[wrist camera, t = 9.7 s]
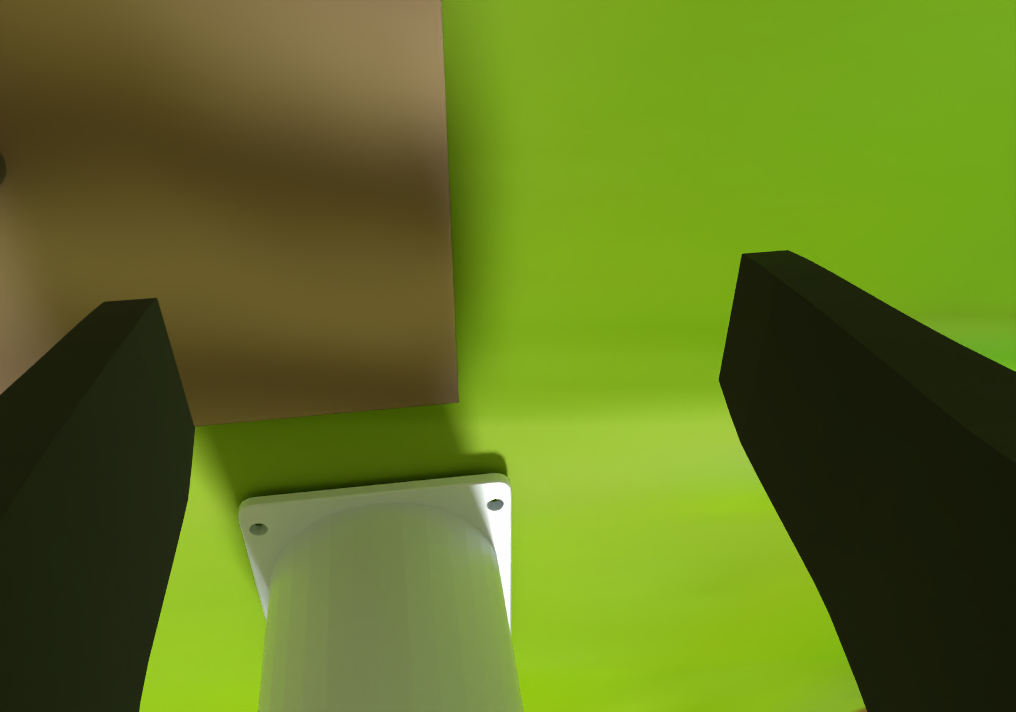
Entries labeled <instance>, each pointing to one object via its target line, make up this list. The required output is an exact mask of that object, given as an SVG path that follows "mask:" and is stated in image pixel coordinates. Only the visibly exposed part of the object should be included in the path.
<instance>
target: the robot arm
mask: <svg viewBox="0 0 1016 712" xmlns="http://www.w3.org/2000/svg"><path fill="white" fill-rule="evenodd" d="M719 382H720V385H721V388H722V391H723V394H724V397H725V400H726V403H727V406H728V409H729V412H730V415H731V418H732V421H733V423H734V426H735V429H736V431H737V434H738V437H739V439H740V442H741V445H742V446H743V448H744V450H745V452H746V454H747V456H748V458H749V460H750V462H751V464H752V466H753V468H754V470H755V472H756V474H757V476H758V478H759V480H760V481H761V483H762V485H763V487H764V489H765V491H766V493H767V495H768V497H769V499H770V501H771V502H772V504H773V506H774V508H775V510H776V512H777V514H778V515H779V517H780V519H781V521H782V523H783V525H784V527H785V529H786V530H787V532H788V534H789V536H790V538H791V540H792V542H793V544H794V545H795V547H796V549H797V551H798V553H799V555H800V557H801V559H802V560H803V562H804V564H805V566H806V568H807V570H808V572H809V574H810V575H811V577H812V579H813V581H814V583H815V585H816V587H817V589H818V591H819V594H820V596H821V598H822V600H823V602H824V604H825V606H826V608H827V610H828V612H829V615H830V617H831V620H832V622H833V625H834V627H835V630H836V632H837V635H838V637H839V640H840V642H841V645H842V647H843V650H844V652H845V655H846V657H847V660H848V662H849V665H850V667H851V670H852V672H853V675H854V677H855V680H856V682H857V685H858V687H859V690H860V693H861V696H862V698H863V701H864V704H865V706H866V709H867V712H1016V372H1015V371H1013V370H1011V369H1009V368H1007V367H1005V366H1003V365H1001V364H999V363H997V362H995V361H993V360H991V359H989V358H987V357H985V356H983V355H981V354H979V353H977V352H975V351H973V350H971V349H969V348H967V347H965V346H963V345H961V344H959V343H957V342H955V341H953V340H951V339H949V338H948V337H946V336H944V335H942V334H940V333H938V332H936V331H934V330H933V329H931V328H929V327H927V326H925V325H924V324H922V323H920V322H918V321H916V320H914V319H913V318H911V317H909V316H907V315H906V314H904V313H902V312H900V311H898V310H897V309H895V308H893V307H891V306H890V305H888V304H886V303H884V302H883V301H881V300H879V299H877V298H876V297H874V296H872V295H870V294H869V293H867V292H865V291H864V290H862V289H860V288H858V287H857V286H855V285H853V284H851V283H850V282H848V281H846V280H844V279H843V278H841V277H839V276H837V275H836V274H834V273H832V272H830V271H828V270H827V269H825V268H823V267H821V266H819V265H817V264H815V263H814V262H812V261H810V260H808V259H806V258H804V257H802V256H800V255H797V254H795V253H793V252H791V251H788V250H786V251H772V252H759V253H746V254H742V257H741V262H740V268H739V273H738V278H737V284H736V289H735V295H734V300H733V305H732V311H731V316H730V322H729V327H728V332H727V338H726V343H725V349H724V354H723V359H722V365H721V370H720V375H719ZM194 432H195V427H194V423H193V420H192V416H191V413H190V409H189V406H188V402H187V399H186V395H185V392H184V389H183V385H182V382H181V378H180V375H179V371H178V368H177V364H176V361H175V358H174V354H173V351H172V347H171V344H170V340H169V337H168V333H167V330H166V326H165V323H164V320H163V316H162V313H161V309H160V306H159V302H158V299H157V298H147V299H133V300H120V301H107V302H103V303H102V304H100V305H99V306H98V307H97V308H95V309H94V310H93V311H92V312H91V313H89V314H88V315H87V316H86V317H85V318H84V319H83V320H81V321H80V322H79V323H78V324H77V325H76V326H75V327H74V328H73V329H72V330H70V331H69V332H68V333H67V334H66V335H65V336H64V337H63V338H62V339H61V340H60V341H59V342H57V343H56V344H55V345H54V346H53V347H52V348H51V349H50V350H49V351H48V352H47V353H46V354H45V355H43V356H42V357H41V358H40V359H39V360H38V361H37V362H36V363H35V364H34V365H33V366H31V367H30V368H29V369H28V370H27V371H26V372H25V373H24V374H23V375H21V376H20V377H19V378H18V379H17V380H16V381H15V382H14V383H13V384H11V385H10V386H9V387H8V388H7V389H6V390H5V391H4V392H3V393H2V394H0V712H139V708H140V701H141V696H142V691H143V686H144V681H145V676H146V671H147V666H148V661H149V657H150V653H151V649H152V645H153V641H154V637H155V633H156V629H157V625H158V621H159V617H160V613H161V609H162V605H163V600H164V596H165V592H166V588H167V584H168V580H169V576H170V572H171V568H172V564H173V560H174V556H175V552H176V548H177V544H178V540H179V535H180V531H181V527H182V523H183V519H184V515H185V510H186V506H187V501H188V495H189V486H190V477H191V467H192V456H193V444H194ZM493 499H499V500H497V501H494V502H493V501H490V500H493ZM238 520H239V524H240V527H241V531H242V535H243V538H244V542H245V546H246V549H247V553H248V557H249V560H250V564H251V568H252V572H253V575H254V579H255V583H256V586H257V590H258V594H259V597H260V601H261V605H262V608H263V612H264V616H265V620H266V632H265V643H264V654H263V665H262V676H261V687H260V697H259V708H258V712H524V711H523V706H522V700H521V694H520V688H519V682H518V676H517V670H516V664H515V658H514V652H513V646H512V640H511V527H512V490H511V485H510V481H509V478H508V477H507V476H506V475H503V474H500V473H489V474H480V475H470V476H460V477H450V478H440V479H430V480H420V481H410V482H400V483H390V484H380V485H370V486H360V487H350V488H340V489H330V490H320V491H310V492H300V493H290V494H280V495H270V496H260V497H252V498H248V499H246V500H244V501H243V502H242V503H241V504H240V506H239V512H238ZM257 523H258V524H263V525H262V526H258V525H255V524H257Z"/></svg>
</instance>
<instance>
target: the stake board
mask: <svg viewBox="0 0 1016 712" xmlns="http://www.w3.org/2000/svg"><path fill="white" fill-rule="evenodd" d="M147 298H157V299H158V302H159V306H160V309H161V313H162V316H163V320H164V323H165V326H166V330H167V333H168V337H169V340H170V344H171V347H172V351H173V354H174V358H175V361H176V364H177V368H178V371H179V375H180V378H181V382H182V385H183V389H184V392H185V395H186V399H187V402H188V406H189V409H190V413H191V416H192V420H193V423H194V426H204V425H215V424H226V423H237V422H248V421H259V420H270V419H281V418H292V417H303V416H314V415H325V414H336V413H347V412H358V411H369V410H380V409H391V408H402V407H413V406H425V405H436V404H447V403H458V402H459V396H458V373H457V350H456V327H455V305H454V282H453V259H452V236H451V213H450V190H449V167H448V144H447V121H446V99H445V76H444V53H443V30H442V7H441V0H0V394H2V393H3V392H4V391H5V390H6V389H7V388H8V387H9V386H10V385H11V384H13V383H14V382H15V381H16V380H17V379H18V378H19V377H20V376H21V375H23V374H24V373H25V372H26V371H27V370H28V369H29V368H30V367H31V366H33V365H34V364H35V363H36V362H37V361H38V360H39V359H40V358H41V357H42V356H43V355H45V354H46V353H47V352H48V351H49V350H50V349H51V348H52V347H53V346H54V345H55V344H56V343H57V342H59V341H60V340H61V339H62V338H63V337H64V336H65V335H66V334H67V333H68V332H69V331H70V330H72V329H73V328H74V327H75V326H76V325H77V324H78V323H79V322H80V321H81V320H83V319H84V318H85V317H86V316H87V315H88V314H89V313H91V312H92V311H93V310H94V309H95V308H97V307H98V306H99V305H100V304H102V303H103V302H107V301H120V300H133V299H147Z"/></svg>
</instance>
